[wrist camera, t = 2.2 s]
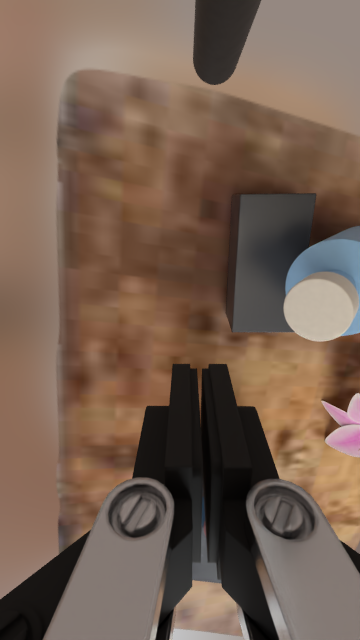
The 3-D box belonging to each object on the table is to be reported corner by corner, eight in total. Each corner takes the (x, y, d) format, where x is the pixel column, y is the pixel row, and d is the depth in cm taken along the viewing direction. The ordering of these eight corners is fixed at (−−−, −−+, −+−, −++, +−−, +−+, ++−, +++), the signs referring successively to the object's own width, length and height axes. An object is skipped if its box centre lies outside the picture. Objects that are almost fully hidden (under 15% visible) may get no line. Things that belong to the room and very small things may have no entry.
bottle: (384, 223, 29) (597, 251, 14) (369, 289, 32) (536, 373, 17) (243, 224, 30) (304, 253, 14) (238, 289, 32) (287, 373, 17)
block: (231, 194, 29) (240, 194, 24) (295, 194, 29) (316, 193, 24) (225, 313, 33) (231, 332, 29) (281, 313, 33) (296, 332, 28)
